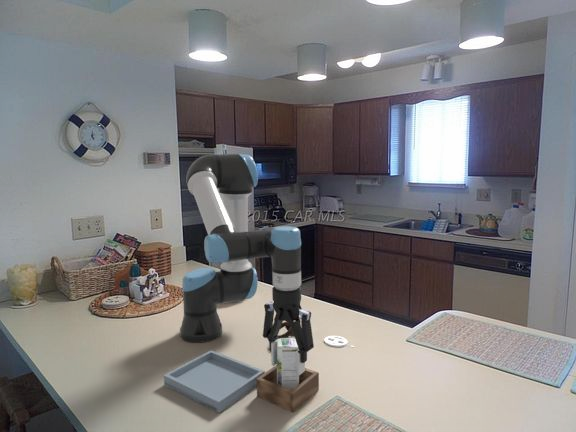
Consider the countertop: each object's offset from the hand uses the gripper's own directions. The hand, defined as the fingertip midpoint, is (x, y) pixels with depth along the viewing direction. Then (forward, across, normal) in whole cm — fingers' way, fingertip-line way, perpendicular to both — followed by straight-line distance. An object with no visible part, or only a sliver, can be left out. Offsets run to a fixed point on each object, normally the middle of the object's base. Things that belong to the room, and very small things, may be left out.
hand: (287, 368), depth 108 cm
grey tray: (+7, -20, -8) cm, 23 cm away
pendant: (+8, -3, +34) cm, 35 cm away
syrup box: (+7, 0, 0) cm, 7 cm away
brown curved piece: (+8, -18, +25) cm, 32 cm away
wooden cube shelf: (+7, 0, 0) cm, 7 cm away
